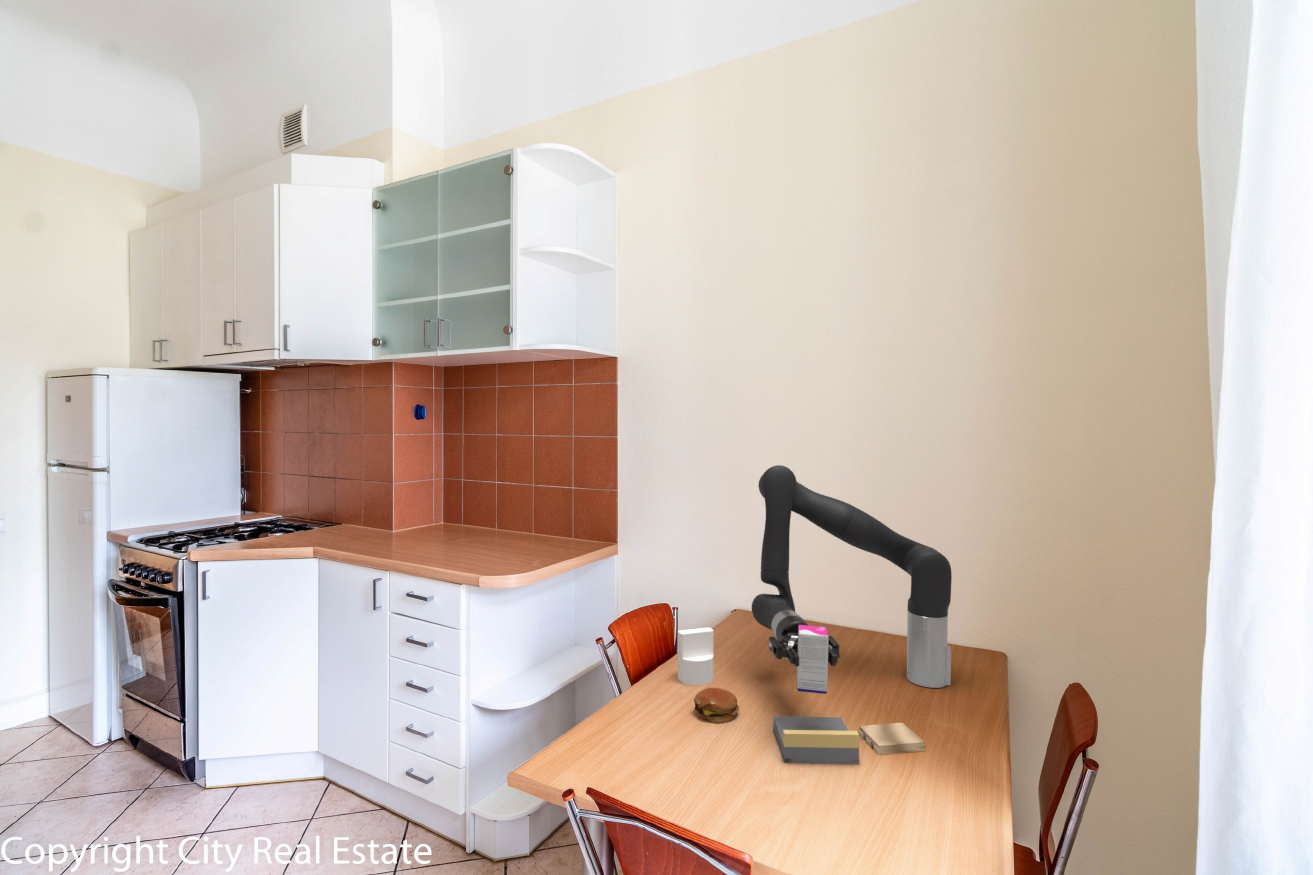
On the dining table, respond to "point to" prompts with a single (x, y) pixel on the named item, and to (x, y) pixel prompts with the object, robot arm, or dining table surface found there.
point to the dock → (816, 740)
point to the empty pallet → (891, 738)
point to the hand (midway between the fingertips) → (815, 661)
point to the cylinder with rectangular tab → (695, 656)
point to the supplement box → (812, 659)
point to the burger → (716, 705)
